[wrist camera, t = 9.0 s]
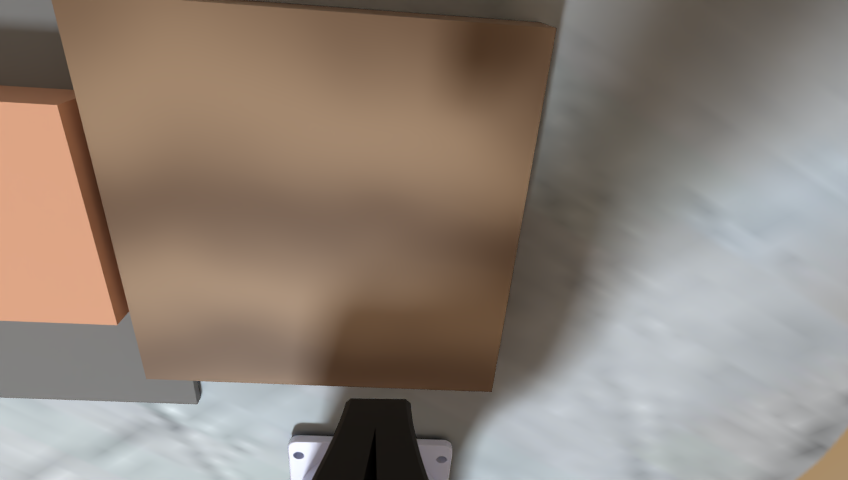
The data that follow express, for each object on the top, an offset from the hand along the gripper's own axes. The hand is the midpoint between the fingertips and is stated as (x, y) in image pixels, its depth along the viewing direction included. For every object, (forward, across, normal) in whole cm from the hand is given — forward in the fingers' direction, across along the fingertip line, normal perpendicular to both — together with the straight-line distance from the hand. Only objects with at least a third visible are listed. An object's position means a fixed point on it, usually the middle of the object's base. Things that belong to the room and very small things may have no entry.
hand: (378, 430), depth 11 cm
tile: (+8, +13, -1) cm, 15 cm away
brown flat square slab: (+9, +3, -1) cm, 10 cm away
